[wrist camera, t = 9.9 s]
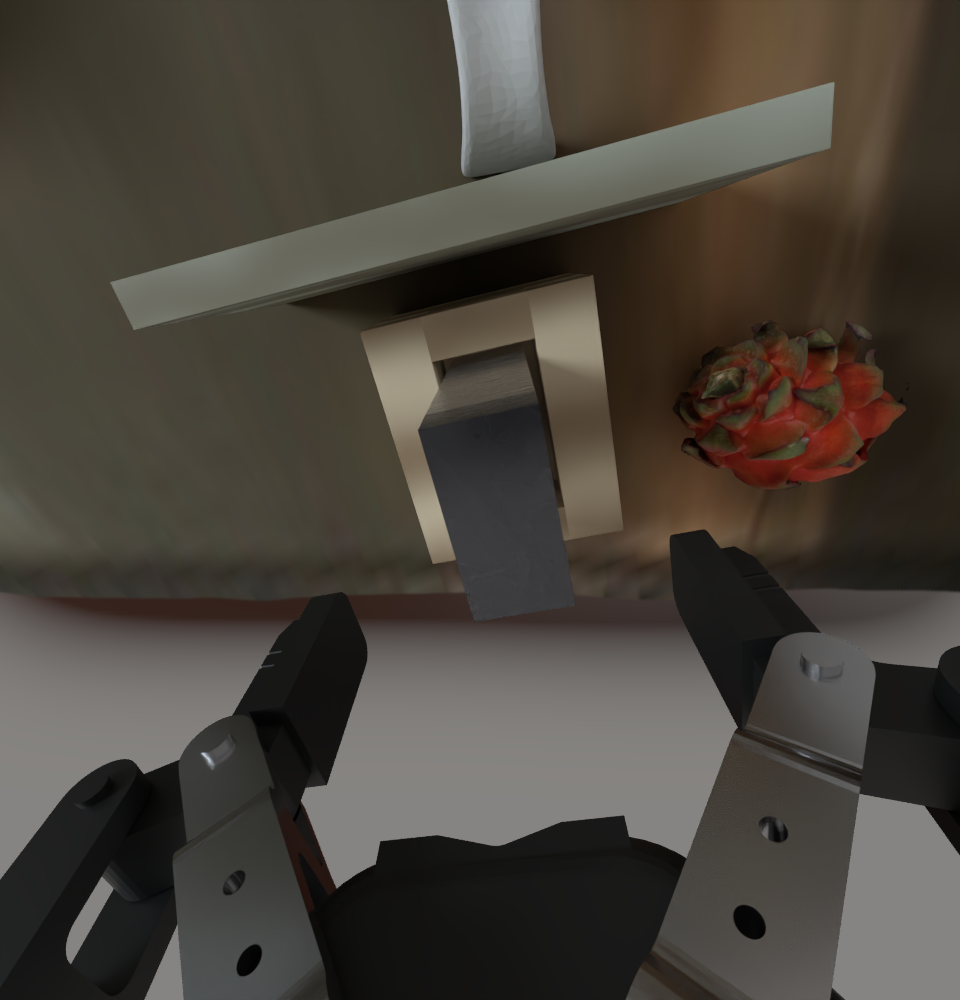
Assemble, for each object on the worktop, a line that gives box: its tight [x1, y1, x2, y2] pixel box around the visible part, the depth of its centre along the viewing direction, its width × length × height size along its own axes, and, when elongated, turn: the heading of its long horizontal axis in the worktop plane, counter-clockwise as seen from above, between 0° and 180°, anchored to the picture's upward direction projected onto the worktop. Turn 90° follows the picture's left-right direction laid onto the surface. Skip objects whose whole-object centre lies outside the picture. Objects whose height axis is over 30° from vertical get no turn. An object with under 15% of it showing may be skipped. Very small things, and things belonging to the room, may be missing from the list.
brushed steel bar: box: [418, 343, 576, 622], centre depth 21 cm, size 7×4×12 cm, turn 13°
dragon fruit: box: [673, 320, 910, 490], centre depth 26 cm, size 8×8×12 cm
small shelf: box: [110, 82, 834, 564], centre depth 24 cm, size 16×22×13 cm
